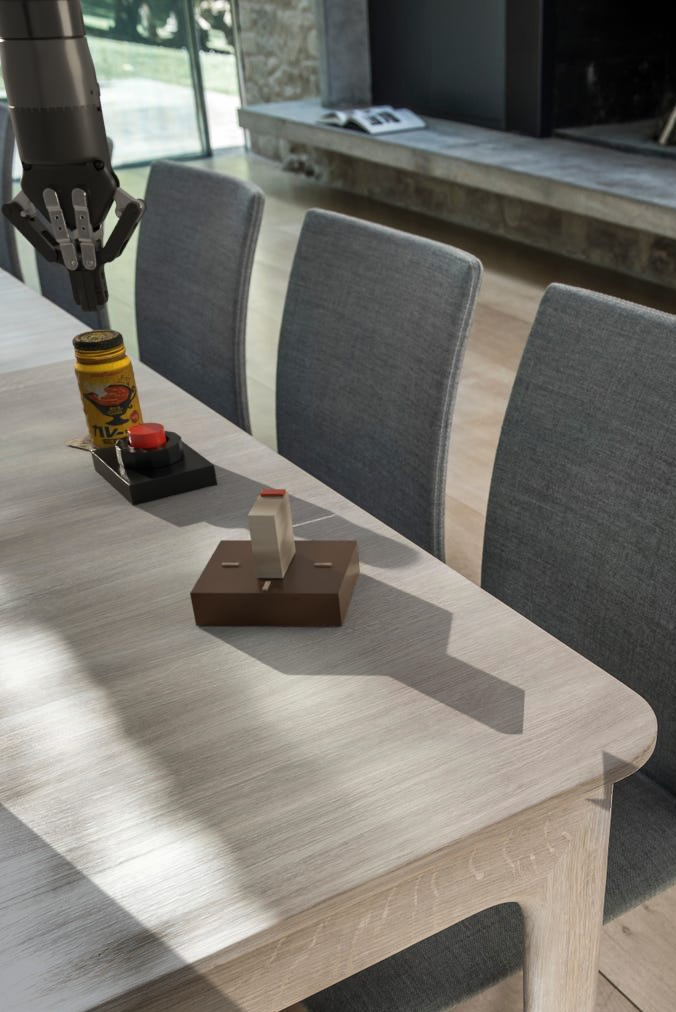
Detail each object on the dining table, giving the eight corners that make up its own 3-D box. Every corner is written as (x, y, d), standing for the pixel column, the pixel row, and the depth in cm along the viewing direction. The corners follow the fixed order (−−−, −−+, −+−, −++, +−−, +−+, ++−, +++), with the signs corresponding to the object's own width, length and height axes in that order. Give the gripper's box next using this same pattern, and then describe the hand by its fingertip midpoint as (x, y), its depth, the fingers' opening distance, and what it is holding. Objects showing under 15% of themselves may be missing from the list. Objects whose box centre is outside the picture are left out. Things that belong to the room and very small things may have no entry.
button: (126, 443, 119) (122, 427, 118) (159, 436, 121) (156, 420, 120) (138, 453, 117) (134, 436, 116) (171, 446, 118) (168, 429, 117)
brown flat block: (195, 625, 93) (189, 591, 92) (225, 571, 102) (220, 538, 100) (341, 626, 93) (338, 591, 91) (360, 571, 101) (357, 538, 99)
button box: (95, 470, 123) (86, 434, 121) (175, 452, 127) (168, 416, 125) (133, 506, 115) (125, 467, 112) (217, 485, 119) (211, 447, 116)
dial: (283, 578, 93) (274, 512, 90) (256, 578, 94) (246, 512, 90) (295, 552, 97) (287, 488, 94) (270, 551, 98) (261, 487, 94)
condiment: (117, 457, 126) (94, 347, 119) (64, 445, 130) (38, 337, 123) (164, 437, 131) (145, 330, 125) (112, 425, 135) (90, 321, 128)
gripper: (-41, 104, 95) (8, 320, 104) (117, 102, 94) (152, 320, 104) (-5, 96, 101) (38, 300, 111) (143, 94, 101) (174, 300, 110)
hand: (94, 309), depth 107 cm, fingers closed
